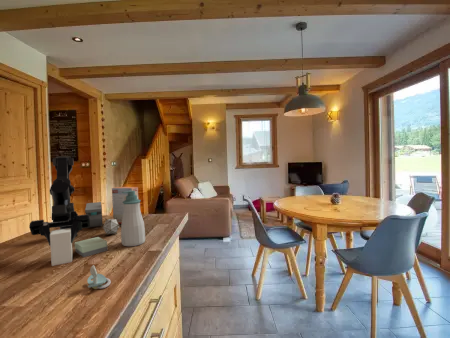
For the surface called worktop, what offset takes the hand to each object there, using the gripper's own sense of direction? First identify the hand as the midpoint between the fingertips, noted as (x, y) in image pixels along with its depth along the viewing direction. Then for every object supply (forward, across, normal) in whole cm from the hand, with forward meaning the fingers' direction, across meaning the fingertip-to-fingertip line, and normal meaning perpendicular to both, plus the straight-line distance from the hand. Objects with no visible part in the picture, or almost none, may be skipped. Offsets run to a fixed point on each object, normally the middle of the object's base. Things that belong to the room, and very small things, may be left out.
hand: (61, 244), depth 89 cm
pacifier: (+23, +11, -14) cm, 29 cm away
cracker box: (-28, +28, +38) cm, 55 cm away
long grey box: (-34, +12, +43) cm, 56 cm away
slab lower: (0, +10, +10) cm, 14 cm away
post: (+4, 0, +6) cm, 7 cm away
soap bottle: (0, +26, +10) cm, 28 cm away
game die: (-14, +19, +24) cm, 34 cm away
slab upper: (-1, +9, +8) cm, 13 cm away
